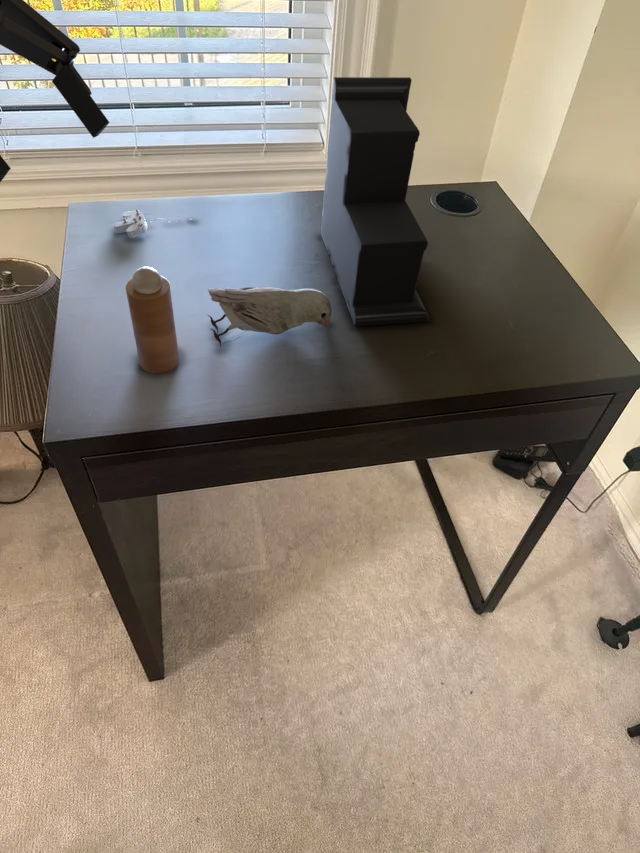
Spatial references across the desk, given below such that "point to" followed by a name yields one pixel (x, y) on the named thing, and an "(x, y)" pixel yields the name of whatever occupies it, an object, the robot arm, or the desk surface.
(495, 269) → the desk surface
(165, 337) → the pepper mill
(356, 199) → the bookend
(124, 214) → the game controller
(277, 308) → the decorative bird
